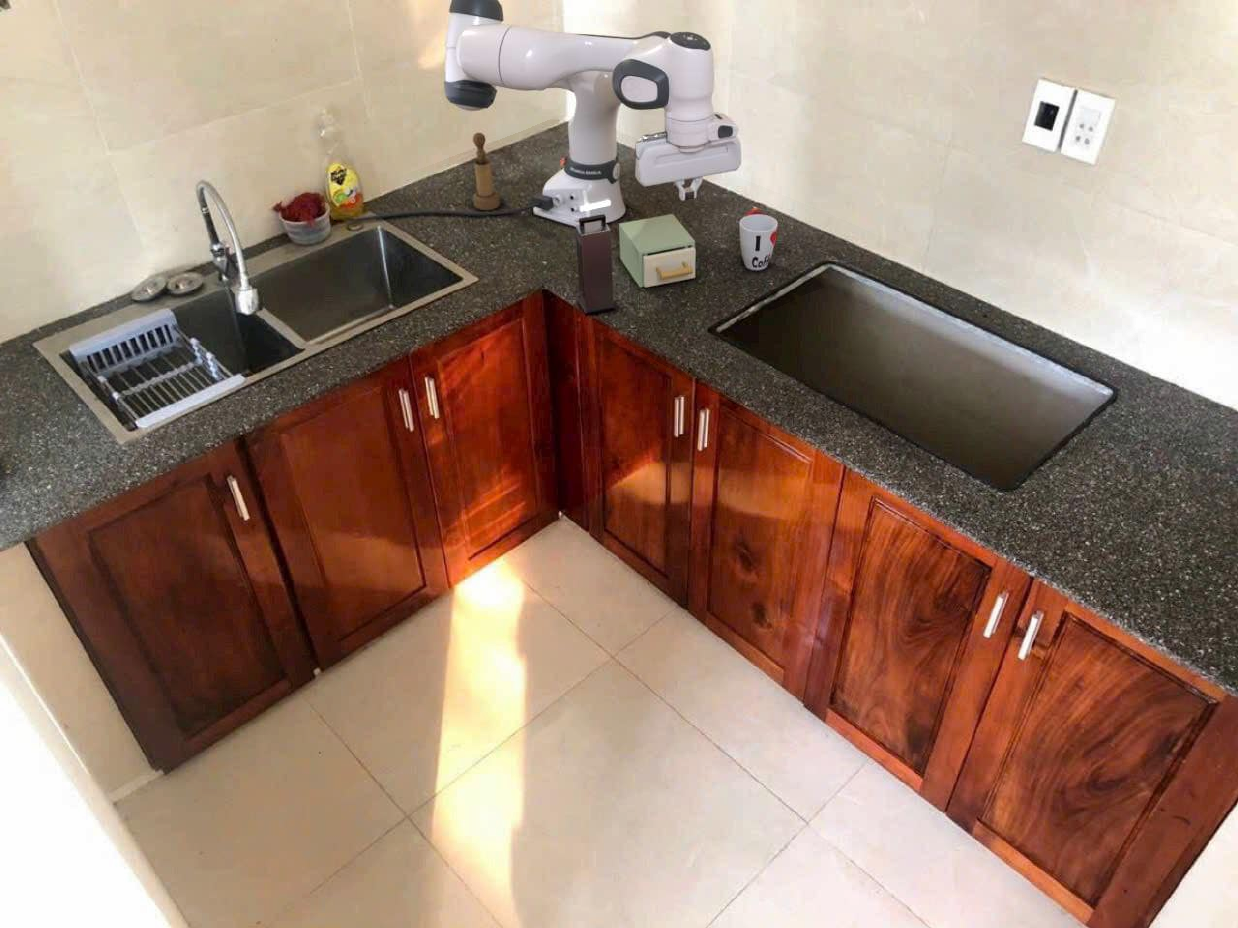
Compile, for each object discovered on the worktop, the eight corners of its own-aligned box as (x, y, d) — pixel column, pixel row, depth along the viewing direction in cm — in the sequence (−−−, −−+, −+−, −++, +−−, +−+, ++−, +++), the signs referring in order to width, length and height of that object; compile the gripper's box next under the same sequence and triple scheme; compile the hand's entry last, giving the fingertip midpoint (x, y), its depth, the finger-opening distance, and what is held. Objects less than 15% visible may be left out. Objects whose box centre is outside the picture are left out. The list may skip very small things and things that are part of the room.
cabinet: (694, 276, 217) (695, 241, 211) (639, 287, 214) (639, 251, 209) (672, 248, 227) (672, 213, 221) (620, 258, 224) (618, 223, 219)
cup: (750, 277, 216) (753, 235, 210) (730, 261, 222) (732, 220, 215) (781, 267, 219) (785, 226, 212) (761, 252, 224) (763, 211, 218)
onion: (766, 233, 231) (768, 201, 226) (766, 245, 227) (769, 213, 221) (741, 232, 232) (743, 200, 226) (741, 244, 227) (742, 212, 222)
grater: (615, 310, 208) (611, 220, 194) (585, 316, 206) (580, 225, 193) (608, 299, 211) (604, 209, 198) (579, 304, 210) (573, 215, 196)
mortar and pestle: (505, 202, 247) (497, 131, 236) (489, 212, 243) (480, 141, 232) (484, 196, 250) (475, 126, 238) (468, 206, 246) (458, 136, 234)
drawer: (702, 287, 212) (703, 258, 207) (652, 297, 209) (651, 268, 205) (674, 251, 224) (674, 223, 220) (626, 260, 222) (625, 232, 217)
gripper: (640, 143, 177) (641, 215, 186) (746, 125, 182) (742, 196, 191) (629, 130, 182) (631, 200, 191) (732, 113, 186) (730, 183, 195)
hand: (687, 198), depth 191 cm, fingers closed
